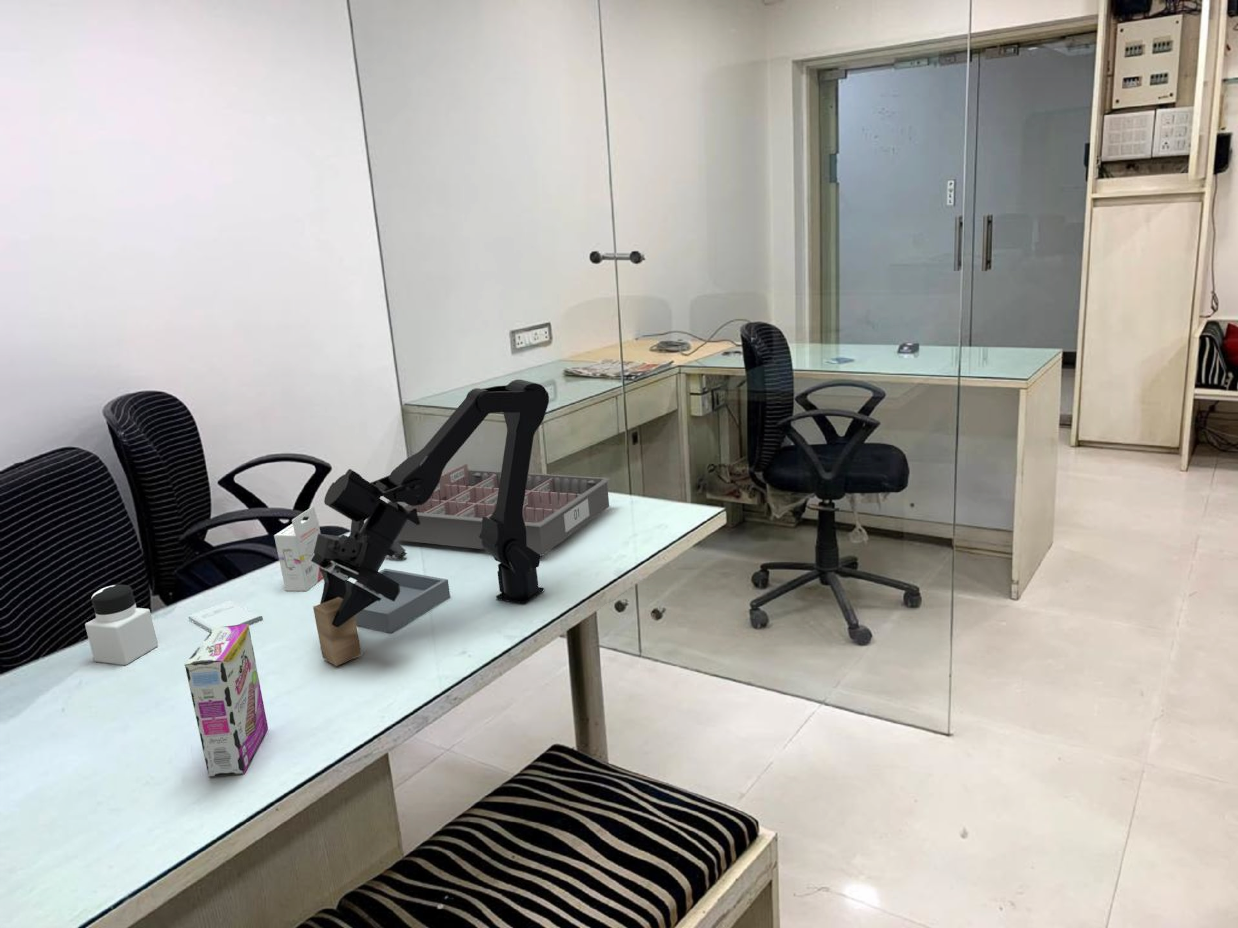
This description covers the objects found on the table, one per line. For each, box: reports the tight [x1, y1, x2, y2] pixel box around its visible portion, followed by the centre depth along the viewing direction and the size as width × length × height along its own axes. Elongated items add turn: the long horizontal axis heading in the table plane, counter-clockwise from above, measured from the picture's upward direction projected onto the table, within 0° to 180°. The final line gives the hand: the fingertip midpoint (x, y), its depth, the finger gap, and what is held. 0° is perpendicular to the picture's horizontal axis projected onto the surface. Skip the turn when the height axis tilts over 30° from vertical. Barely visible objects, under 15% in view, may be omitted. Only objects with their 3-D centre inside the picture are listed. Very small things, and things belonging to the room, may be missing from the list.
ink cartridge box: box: [273, 506, 324, 592], centre depth 179 cm, size 9×5×15 cm, turn 168°
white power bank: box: [188, 600, 264, 633], centre depth 166 cm, size 2×8×12 cm
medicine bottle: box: [84, 584, 159, 666], centre depth 154 cm, size 7×7×12 cm
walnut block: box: [312, 597, 362, 667], centre depth 146 cm, size 4×4×9 cm
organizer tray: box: [387, 462, 612, 556], centre depth 202 cm, size 32×40×10 cm
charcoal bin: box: [355, 568, 451, 634], centre depth 165 cm, size 16×16×4 cm
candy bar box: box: [184, 624, 269, 778], centre depth 121 cm, size 11×5×16 cm, turn 5°
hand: (327, 622), depth 145 cm, fingers closed on walnut block, 4 cm apart
